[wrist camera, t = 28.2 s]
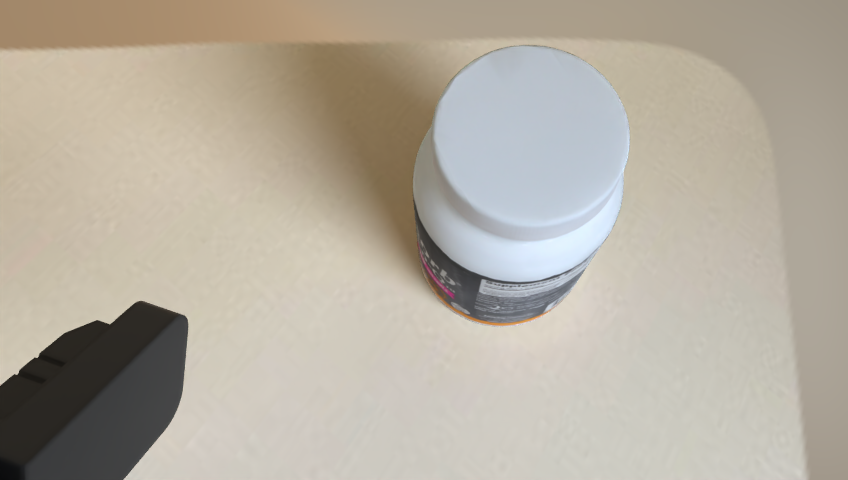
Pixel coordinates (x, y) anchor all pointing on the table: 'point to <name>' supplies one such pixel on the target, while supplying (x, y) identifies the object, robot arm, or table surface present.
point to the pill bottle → (518, 182)
